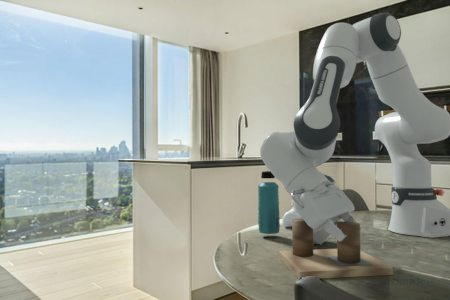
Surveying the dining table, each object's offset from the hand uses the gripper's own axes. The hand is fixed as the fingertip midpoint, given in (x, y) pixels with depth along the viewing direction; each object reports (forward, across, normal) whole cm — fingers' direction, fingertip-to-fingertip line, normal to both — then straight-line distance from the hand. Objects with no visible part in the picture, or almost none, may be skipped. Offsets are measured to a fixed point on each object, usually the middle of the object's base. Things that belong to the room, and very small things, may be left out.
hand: (351, 235), depth 80 cm
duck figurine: (-17, +35, +28) cm, 48 cm away
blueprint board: (+2, 0, +8) cm, 9 cm away
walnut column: (+4, 0, +4) cm, 6 cm away
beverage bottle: (-16, +16, +27) cm, 35 cm away
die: (-6, +17, +17) cm, 25 cm away
